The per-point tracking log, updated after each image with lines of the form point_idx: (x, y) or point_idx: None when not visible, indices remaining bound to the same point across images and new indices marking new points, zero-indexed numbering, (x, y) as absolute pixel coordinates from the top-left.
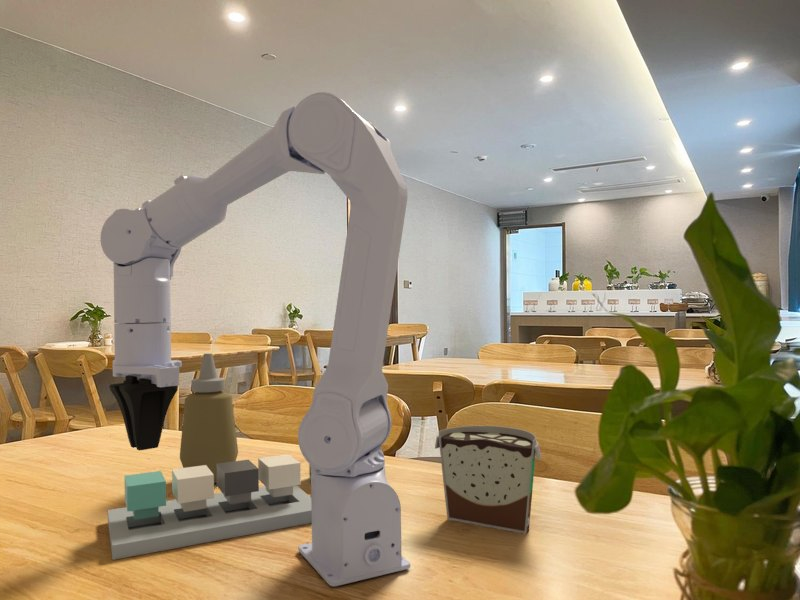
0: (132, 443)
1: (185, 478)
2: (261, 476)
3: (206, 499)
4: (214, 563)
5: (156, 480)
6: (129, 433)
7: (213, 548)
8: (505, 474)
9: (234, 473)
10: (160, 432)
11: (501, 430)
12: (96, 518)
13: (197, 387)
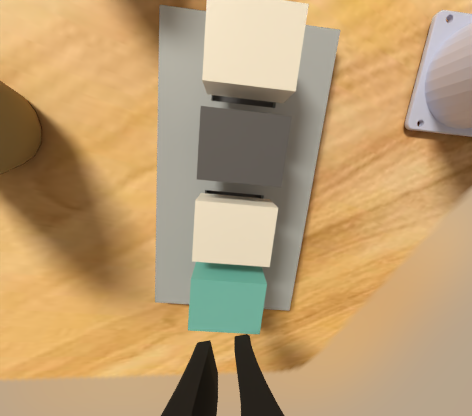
0: (217, 383)
1: (269, 254)
2: (230, 93)
3: (181, 182)
4: (362, 219)
5: (251, 294)
6: (215, 414)
7: (322, 209)
8: None
9: (283, 168)
10: (256, 361)
11: None
12: (136, 301)
13: None
